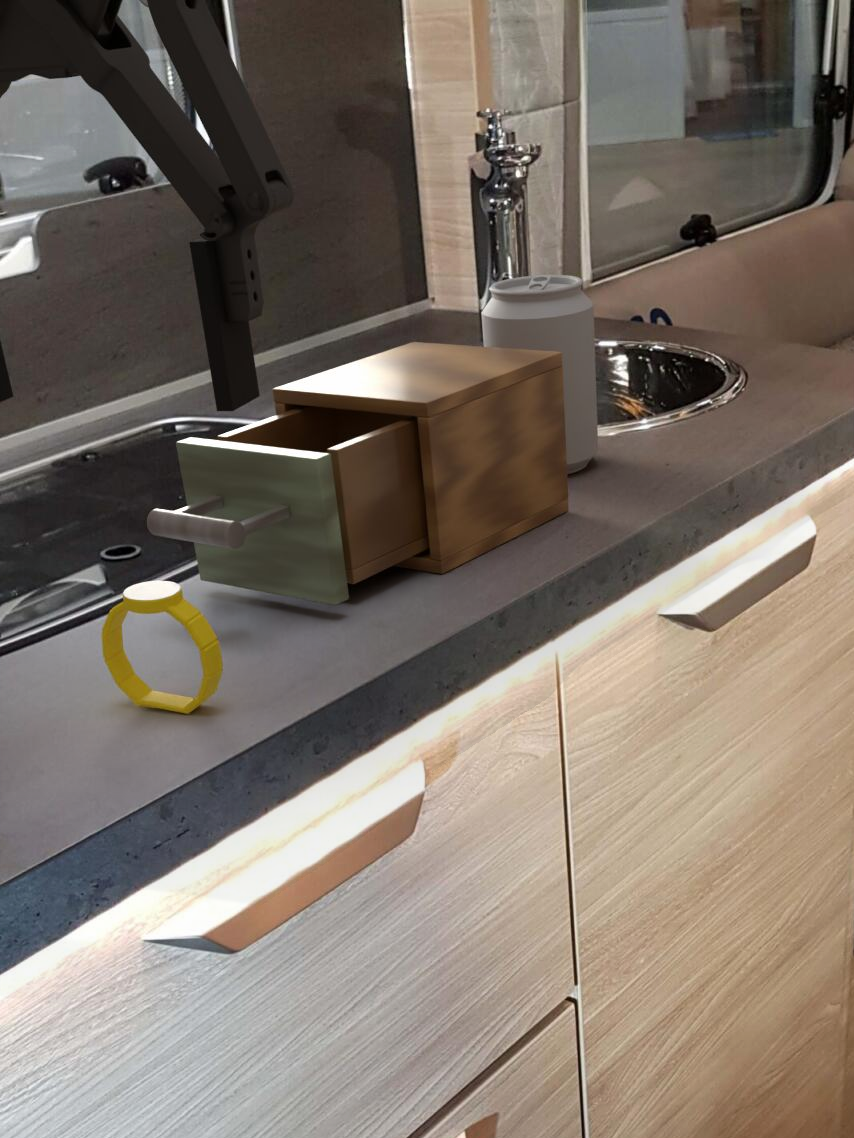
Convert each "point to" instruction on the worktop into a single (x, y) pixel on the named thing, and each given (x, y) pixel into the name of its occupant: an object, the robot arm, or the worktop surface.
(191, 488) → the drawer
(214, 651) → the watch
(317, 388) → the cabinet
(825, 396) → the worktop surface
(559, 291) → the can
